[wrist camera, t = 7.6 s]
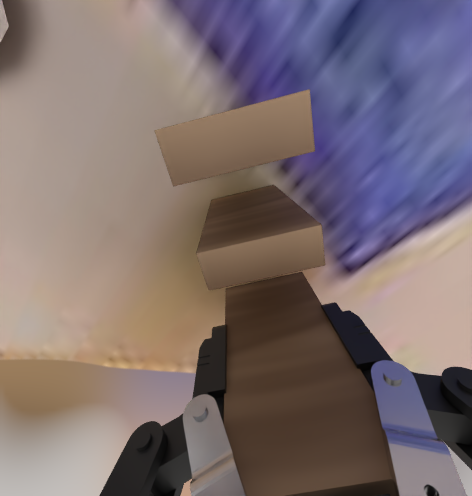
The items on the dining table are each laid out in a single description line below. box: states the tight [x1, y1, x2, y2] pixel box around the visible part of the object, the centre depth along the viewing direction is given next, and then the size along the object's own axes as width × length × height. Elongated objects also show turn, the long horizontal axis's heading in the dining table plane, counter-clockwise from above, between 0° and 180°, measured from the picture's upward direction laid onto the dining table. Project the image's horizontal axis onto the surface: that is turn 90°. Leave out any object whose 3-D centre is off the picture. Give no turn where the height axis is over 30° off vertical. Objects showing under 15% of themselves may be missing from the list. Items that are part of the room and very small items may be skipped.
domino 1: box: [154, 89, 315, 186], centre depth 12 cm, size 2×5×10 cm, turn 103°
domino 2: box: [196, 185, 325, 290], centre depth 14 cm, size 2×5×10 cm, turn 104°
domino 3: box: [224, 272, 396, 496], centre depth 11 cm, size 2×5×10 cm, turn 104°
